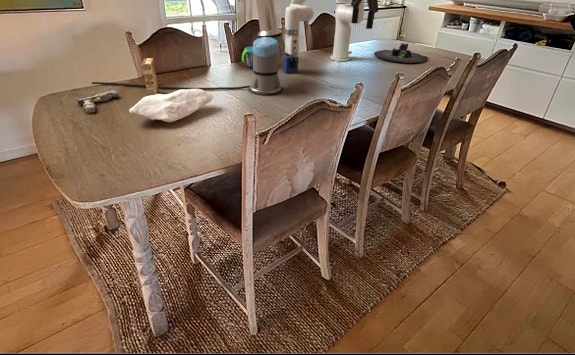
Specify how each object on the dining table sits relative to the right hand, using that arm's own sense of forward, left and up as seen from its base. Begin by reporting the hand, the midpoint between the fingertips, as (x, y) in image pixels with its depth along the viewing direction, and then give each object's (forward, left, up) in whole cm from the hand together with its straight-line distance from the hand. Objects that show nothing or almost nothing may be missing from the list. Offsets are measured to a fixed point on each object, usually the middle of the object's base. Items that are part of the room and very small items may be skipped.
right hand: (290, 66), depth 203 cm
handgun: (+98, -17, -3) cm, 99 cm away
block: (0, 0, -3) cm, 3 cm away
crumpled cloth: (+81, +11, -3) cm, 81 cm away
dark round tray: (-82, +22, -3) cm, 85 cm away
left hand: (-4, +41, +27) cm, 49 cm away
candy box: (+76, -14, -3) cm, 77 cm away
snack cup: (+10, -20, -3) cm, 22 cm away
